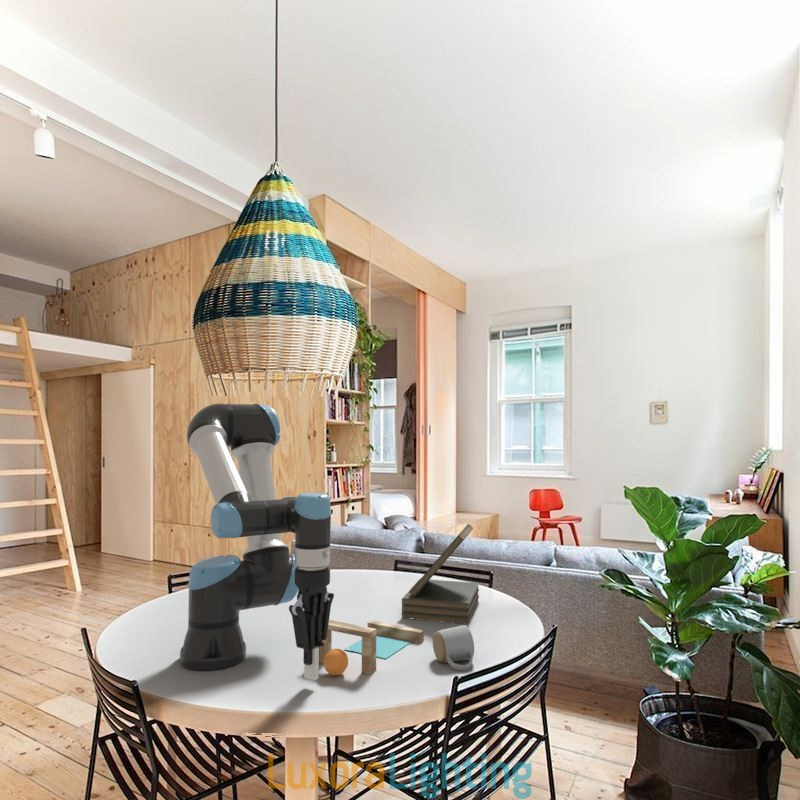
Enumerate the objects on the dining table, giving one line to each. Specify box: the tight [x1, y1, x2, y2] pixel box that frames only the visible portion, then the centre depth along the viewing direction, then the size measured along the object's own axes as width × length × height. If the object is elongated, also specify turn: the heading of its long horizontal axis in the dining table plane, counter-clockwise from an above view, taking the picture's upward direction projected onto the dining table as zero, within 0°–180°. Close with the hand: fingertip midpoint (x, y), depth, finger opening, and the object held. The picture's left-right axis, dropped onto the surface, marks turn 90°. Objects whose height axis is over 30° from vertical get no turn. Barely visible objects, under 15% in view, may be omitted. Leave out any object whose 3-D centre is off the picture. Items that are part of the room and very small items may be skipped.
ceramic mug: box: [432, 624, 475, 672], centre depth 144 cm, size 11×8×8 cm
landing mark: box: [344, 635, 410, 660], centre depth 154 cm, size 12×12×1 cm
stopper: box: [367, 620, 425, 643], centre depth 162 cm, size 16×2×2 cm, turn 61°
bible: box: [401, 523, 480, 625], centre depth 185 cm, size 23×20×25 cm
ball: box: [323, 648, 349, 676], centre depth 137 cm, size 6×6×6 cm
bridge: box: [319, 619, 377, 675], centre depth 142 cm, size 3×14×9 cm, turn 61°
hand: (311, 677), depth 130 cm, fingers closed
